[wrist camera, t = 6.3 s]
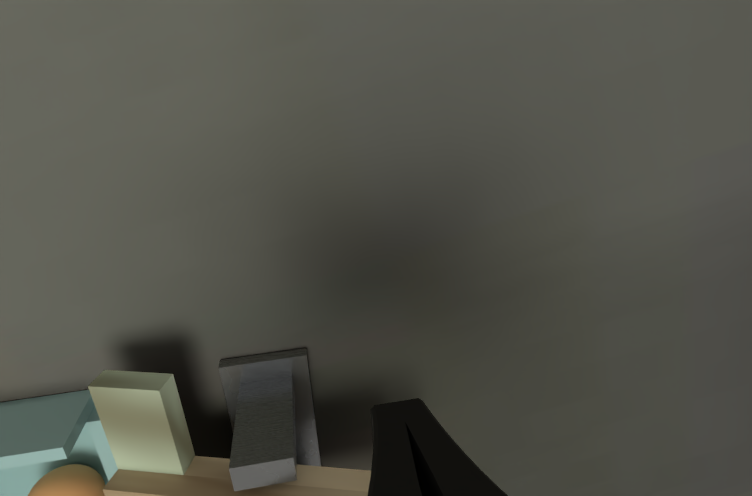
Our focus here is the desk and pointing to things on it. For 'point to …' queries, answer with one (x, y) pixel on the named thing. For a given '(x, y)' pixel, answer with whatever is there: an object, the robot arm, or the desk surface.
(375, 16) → the desk surface
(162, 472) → the beige tray
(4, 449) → the dish
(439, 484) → the robot arm
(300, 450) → the stand
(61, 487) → the ball
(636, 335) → the desk surface
